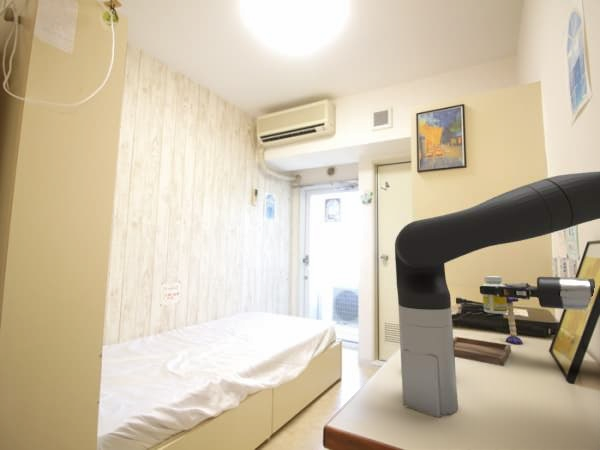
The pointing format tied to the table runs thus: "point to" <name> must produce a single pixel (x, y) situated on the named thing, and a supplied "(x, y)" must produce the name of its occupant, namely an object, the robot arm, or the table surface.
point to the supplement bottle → (494, 297)
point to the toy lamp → (512, 322)
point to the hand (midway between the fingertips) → (482, 289)
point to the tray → (481, 350)
